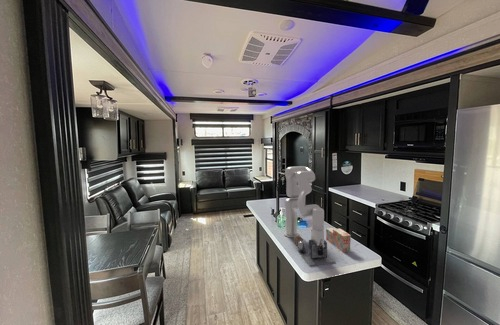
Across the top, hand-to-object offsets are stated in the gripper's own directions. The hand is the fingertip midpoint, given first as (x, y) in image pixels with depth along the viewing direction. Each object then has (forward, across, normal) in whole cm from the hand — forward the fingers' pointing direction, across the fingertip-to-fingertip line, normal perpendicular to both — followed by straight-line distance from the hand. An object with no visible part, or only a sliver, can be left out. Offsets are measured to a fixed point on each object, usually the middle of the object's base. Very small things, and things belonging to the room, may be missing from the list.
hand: (317, 252), depth 146 cm
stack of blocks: (+6, -15, +24) cm, 29 cm away
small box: (+3, 0, 0) cm, 3 cm away
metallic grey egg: (+5, -12, -6) cm, 14 cm away
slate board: (+5, 0, 0) cm, 5 cm away
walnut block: (+5, -23, -4) cm, 24 cm away
